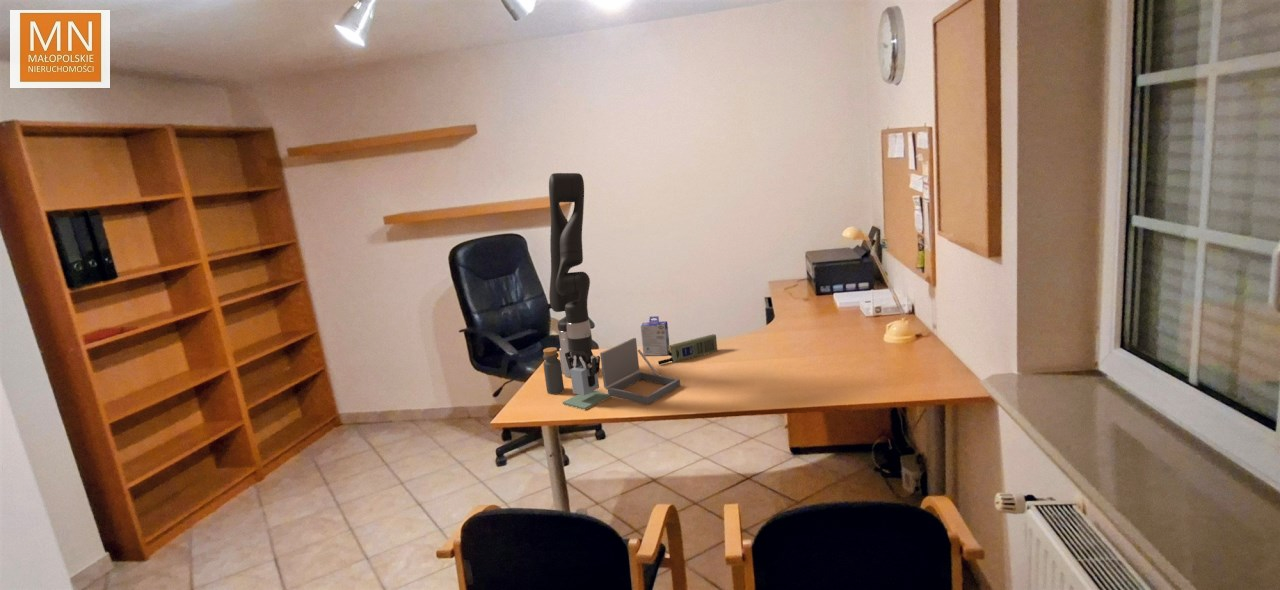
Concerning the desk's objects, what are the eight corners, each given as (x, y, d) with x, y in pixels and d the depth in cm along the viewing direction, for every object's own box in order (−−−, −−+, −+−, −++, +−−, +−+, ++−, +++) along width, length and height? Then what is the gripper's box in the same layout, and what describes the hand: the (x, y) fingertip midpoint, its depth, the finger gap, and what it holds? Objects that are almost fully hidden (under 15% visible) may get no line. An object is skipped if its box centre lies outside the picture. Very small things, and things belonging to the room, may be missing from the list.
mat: (562, 404, 203) (562, 402, 203) (588, 391, 212) (588, 389, 212) (584, 410, 197) (584, 407, 197) (610, 396, 206) (610, 394, 206)
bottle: (557, 386, 220) (551, 345, 216) (567, 390, 215) (562, 348, 212) (543, 392, 216) (537, 350, 212) (554, 395, 212) (548, 353, 208)
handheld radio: (718, 352, 239) (661, 367, 229) (713, 350, 242) (657, 365, 232) (717, 335, 238) (659, 349, 228) (712, 333, 241) (655, 347, 231)
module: (573, 392, 203) (570, 369, 201) (588, 385, 208) (585, 362, 206) (584, 395, 200) (581, 371, 198) (599, 387, 205) (596, 364, 203)
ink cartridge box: (670, 350, 246) (667, 315, 243) (668, 355, 241) (665, 319, 237) (645, 351, 248) (642, 316, 245) (643, 356, 243) (639, 320, 239)
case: (648, 404, 196) (643, 360, 193) (604, 394, 208) (600, 352, 205) (682, 385, 210) (679, 343, 206) (640, 376, 221) (636, 337, 218)
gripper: (555, 335, 201) (562, 385, 205) (587, 340, 192) (593, 392, 196) (571, 328, 207) (578, 377, 211) (603, 333, 198) (609, 384, 202)
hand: (585, 384), depth 203 cm, fingers closed on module, 5 cm apart
